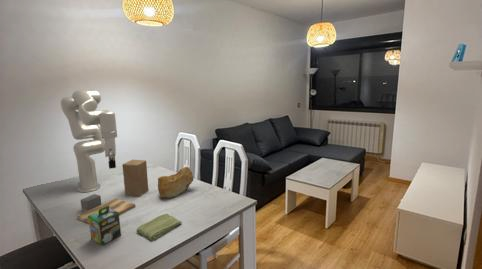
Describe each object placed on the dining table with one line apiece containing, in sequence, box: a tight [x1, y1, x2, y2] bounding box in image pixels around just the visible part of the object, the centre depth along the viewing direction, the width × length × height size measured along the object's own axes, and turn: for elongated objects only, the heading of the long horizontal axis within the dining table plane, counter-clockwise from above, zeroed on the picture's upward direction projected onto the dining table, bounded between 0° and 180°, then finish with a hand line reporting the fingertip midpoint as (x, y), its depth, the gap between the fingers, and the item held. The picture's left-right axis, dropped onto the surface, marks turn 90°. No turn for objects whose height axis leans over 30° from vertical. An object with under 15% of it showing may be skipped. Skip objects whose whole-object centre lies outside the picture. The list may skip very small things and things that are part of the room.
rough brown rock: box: [157, 166, 194, 199], centre depth 157 cm, size 23×17×15 cm
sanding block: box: [80, 193, 102, 212], centre depth 138 cm, size 5×8×6 cm, turn 154°
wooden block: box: [122, 159, 149, 197], centre depth 155 cm, size 10×10×20 cm
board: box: [76, 198, 136, 224], centre depth 133 cm, size 16×22×2 cm
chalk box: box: [88, 206, 122, 246], centre depth 110 cm, size 9×9×15 cm
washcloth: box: [136, 213, 182, 241], centre depth 118 cm, size 13×18×3 cm
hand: (112, 165), depth 136 cm, fingers open, 9 cm apart
